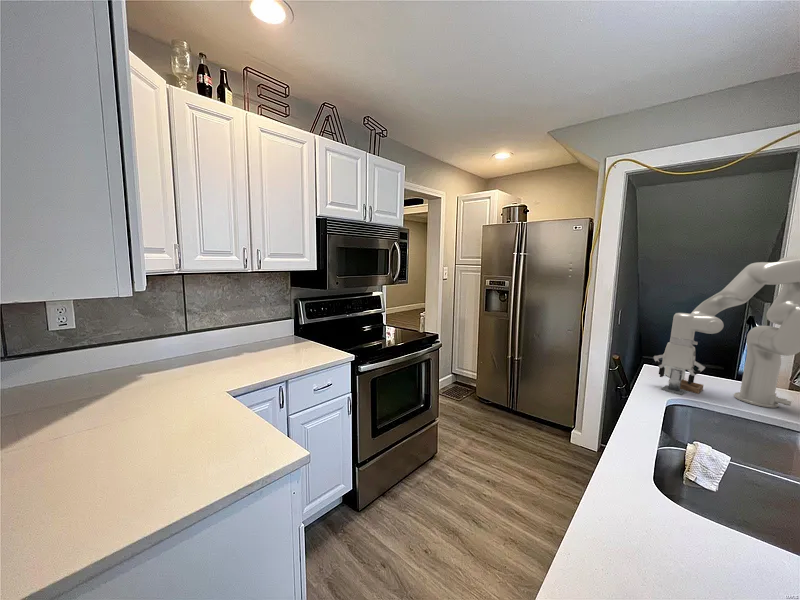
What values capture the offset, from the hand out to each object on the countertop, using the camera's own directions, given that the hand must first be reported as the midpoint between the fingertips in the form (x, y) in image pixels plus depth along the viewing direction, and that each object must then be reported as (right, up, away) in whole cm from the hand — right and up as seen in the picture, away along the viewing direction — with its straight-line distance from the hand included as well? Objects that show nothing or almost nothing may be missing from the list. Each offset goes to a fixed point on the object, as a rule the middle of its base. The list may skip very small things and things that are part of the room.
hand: (675, 379), depth 143 cm
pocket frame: (+9, -5, +4) cm, 11 cm away
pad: (0, -5, +1) cm, 5 cm away
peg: (0, -4, +1) cm, 4 cm away
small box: (+15, -3, +20) cm, 25 cm away
